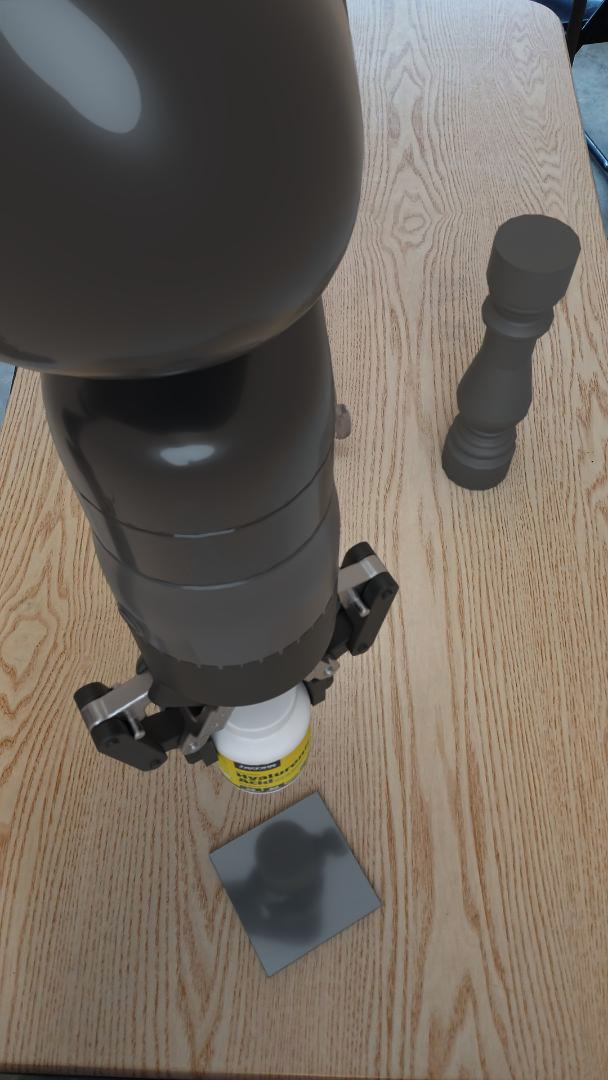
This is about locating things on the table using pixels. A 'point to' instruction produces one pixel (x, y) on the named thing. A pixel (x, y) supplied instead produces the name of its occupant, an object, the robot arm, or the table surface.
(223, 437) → the robot arm
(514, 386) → the candle holder
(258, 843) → the coaster
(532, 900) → the table surface
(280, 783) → the supplement bottle
